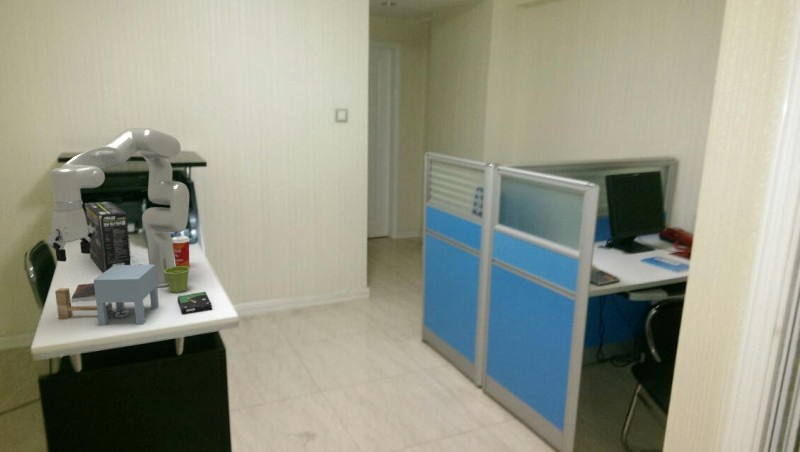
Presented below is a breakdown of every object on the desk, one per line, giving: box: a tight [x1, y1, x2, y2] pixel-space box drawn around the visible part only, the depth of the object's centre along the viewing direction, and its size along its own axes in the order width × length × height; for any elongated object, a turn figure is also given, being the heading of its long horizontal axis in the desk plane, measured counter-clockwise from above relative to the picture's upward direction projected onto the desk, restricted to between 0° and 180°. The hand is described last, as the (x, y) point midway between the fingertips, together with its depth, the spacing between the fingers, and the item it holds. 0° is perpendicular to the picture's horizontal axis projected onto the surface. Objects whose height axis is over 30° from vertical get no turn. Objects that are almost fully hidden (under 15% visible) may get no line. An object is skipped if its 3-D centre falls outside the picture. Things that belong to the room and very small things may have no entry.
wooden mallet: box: [54, 287, 114, 320], centre depth 180 cm, size 8×15×10 cm, turn 96°
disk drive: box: [176, 291, 213, 315], centre depth 193 cm, size 10×3×15 cm
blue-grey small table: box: [93, 264, 160, 326], centre depth 181 cm, size 16×15×16 cm
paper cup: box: [172, 235, 191, 268], centre depth 234 cm, size 8×8×14 cm
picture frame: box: [71, 282, 96, 303], centre depth 205 cm, size 16×2×22 cm
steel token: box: [112, 309, 130, 320], centre depth 182 cm, size 5×5×2 cm
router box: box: [84, 201, 132, 274], centre depth 236 cm, size 36×11×27 cm, turn 39°
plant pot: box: [164, 266, 190, 294], centre depth 207 cm, size 9×9×9 cm
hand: (74, 257), depth 172 cm, fingers open, 9 cm apart
